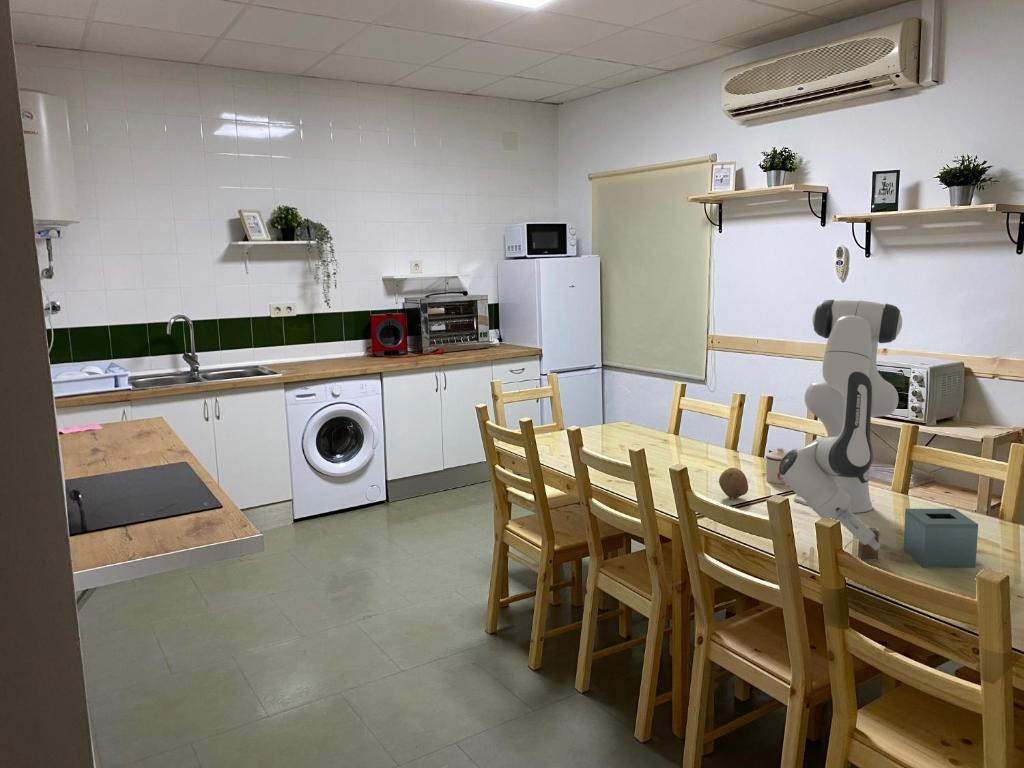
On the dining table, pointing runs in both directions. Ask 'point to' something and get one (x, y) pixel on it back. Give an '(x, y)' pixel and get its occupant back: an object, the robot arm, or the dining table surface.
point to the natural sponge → (733, 483)
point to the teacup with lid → (774, 466)
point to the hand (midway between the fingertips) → (870, 540)
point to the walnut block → (868, 548)
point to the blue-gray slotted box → (940, 538)
